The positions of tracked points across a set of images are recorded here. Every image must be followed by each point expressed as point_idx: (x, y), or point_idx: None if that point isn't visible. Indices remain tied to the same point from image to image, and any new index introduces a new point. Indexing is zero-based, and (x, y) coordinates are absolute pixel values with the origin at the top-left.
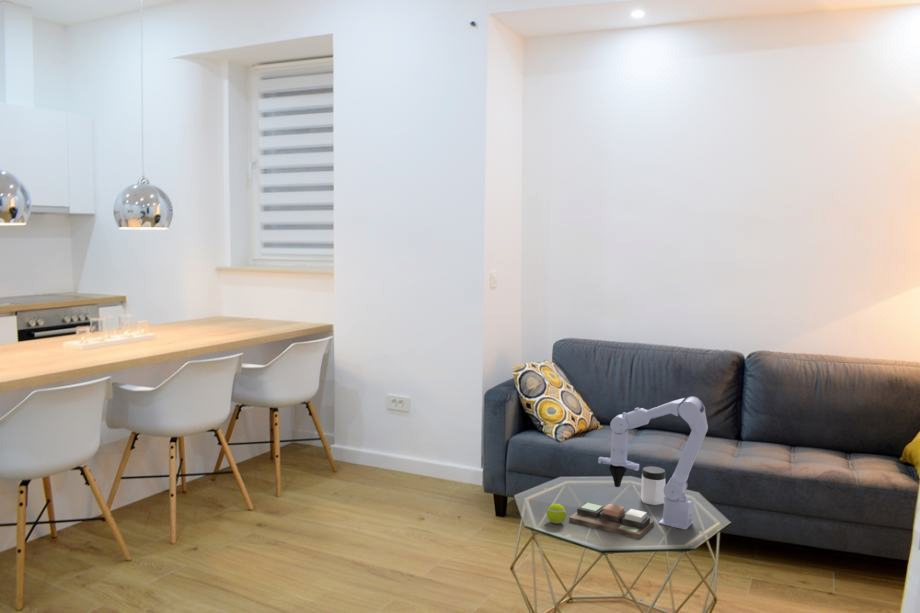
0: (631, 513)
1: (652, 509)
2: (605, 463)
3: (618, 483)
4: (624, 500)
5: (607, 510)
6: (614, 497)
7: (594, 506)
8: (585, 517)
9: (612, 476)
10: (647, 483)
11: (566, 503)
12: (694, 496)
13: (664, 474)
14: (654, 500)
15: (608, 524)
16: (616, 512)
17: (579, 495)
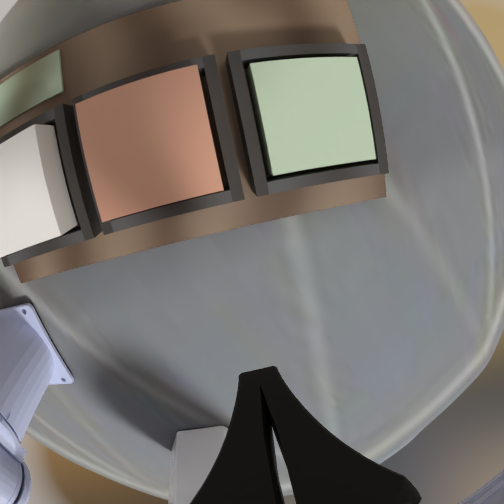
0: (15, 166)
1: (154, 404)
2: (478, 493)
3: (236, 399)
4: None
5: (157, 76)
6: (334, 391)
7: (307, 128)
8: (282, 28)
9: (326, 429)
10: None
11: (454, 191)
12: (165, 498)
13: None
14: (178, 444)
15: (122, 43)
16: (89, 100)
17: (443, 304)
